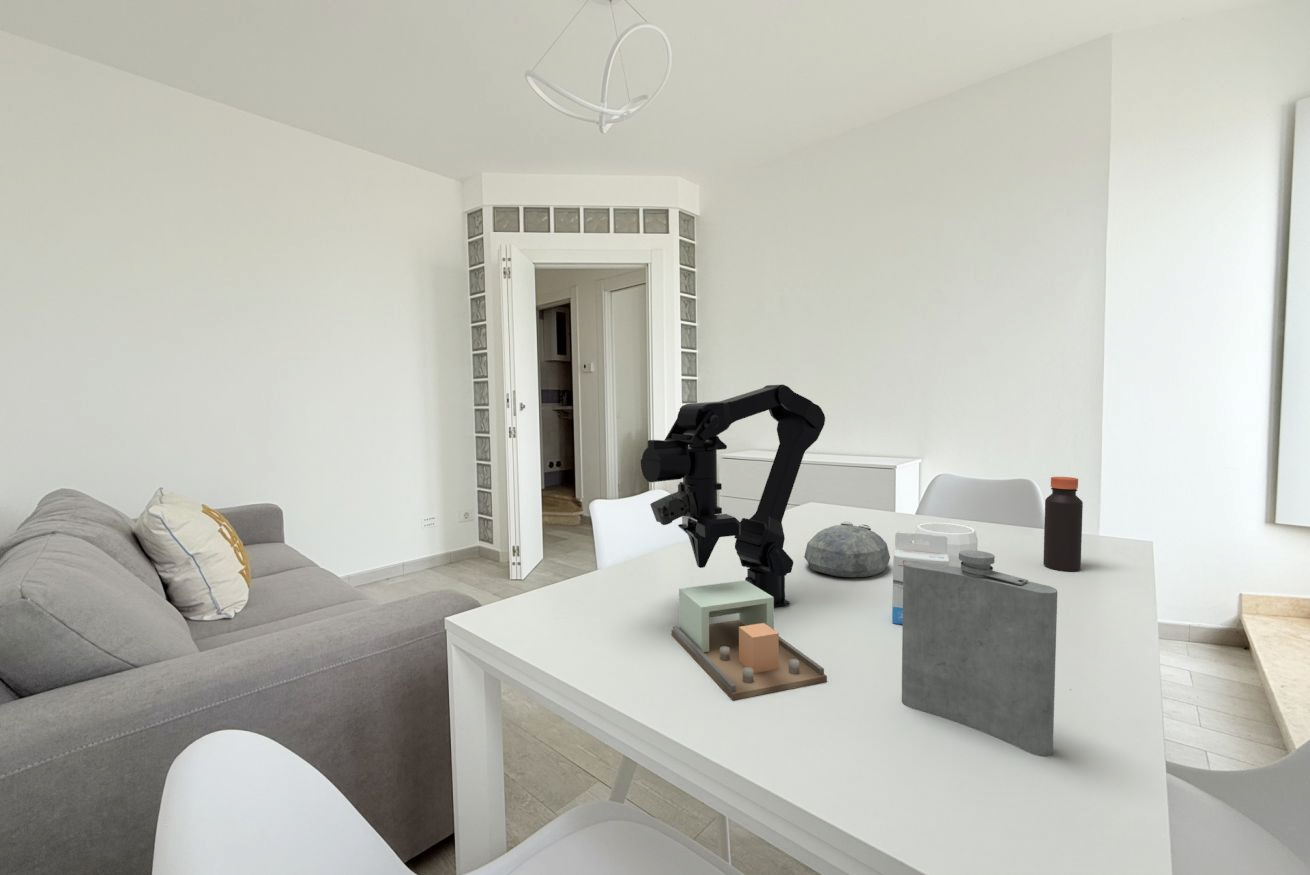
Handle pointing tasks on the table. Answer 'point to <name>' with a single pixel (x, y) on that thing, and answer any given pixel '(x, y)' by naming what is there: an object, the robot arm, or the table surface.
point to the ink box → (913, 552)
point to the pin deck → (742, 679)
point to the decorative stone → (847, 551)
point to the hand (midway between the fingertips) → (701, 567)
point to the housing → (722, 608)
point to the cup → (950, 538)
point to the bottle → (1063, 525)
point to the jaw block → (759, 647)
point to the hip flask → (981, 649)
